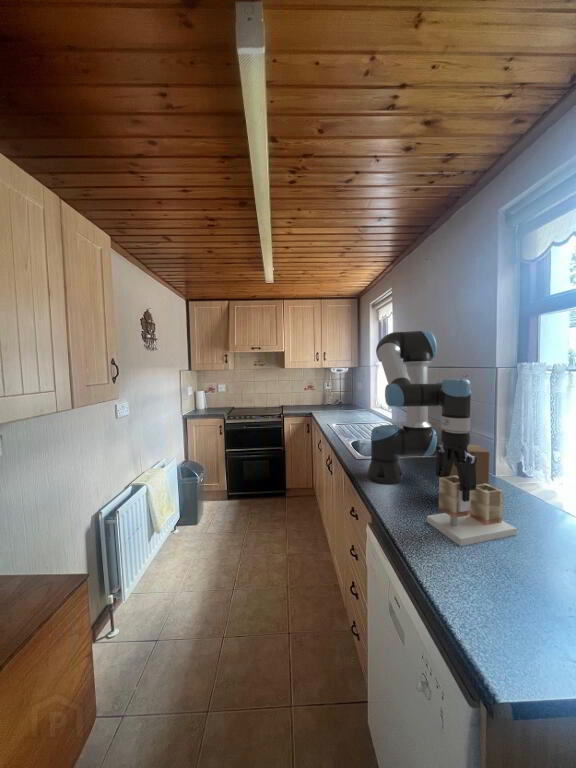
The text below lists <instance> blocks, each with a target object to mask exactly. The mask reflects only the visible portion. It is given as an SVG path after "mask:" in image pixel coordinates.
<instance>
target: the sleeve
mask: <svg viewBox="0 0 576 768" xmlns="http://www.w3.org/2000/svg"><path fill="white" fill-rule="evenodd" d="M438 483H439V484H438V510H440V511H441V512H442V513H446V514H448V515H449V516H451V517H453V518H457V517H462V516H468V515H470V508H471V491H470V496H469V497H470V500H469V501H468V511H463V512H459V511H458V498H459V489H461V486H460V481H459V477H458V476H456V475H455V476H447V477H439V476H438ZM465 486H466V485H465Z"/></svg>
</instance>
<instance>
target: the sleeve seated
mask: <svg viewBox="0 0 576 768" xmlns="http://www.w3.org/2000/svg"><path fill="white" fill-rule="evenodd" d="M485 490H488V491H485ZM503 494H504V490H502V489H499V488H497V487H496V486H493V485H491V484H489V485H488V484H479V485H476V490H471V508H470V516H471V517H473V518H474V519H476V520H478V521H480V522H481V523H483V524H485V525H490V524H495V523H501V522H502V521H503V497H504V495H503Z"/></svg>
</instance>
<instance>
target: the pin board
mask: <svg viewBox="0 0 576 768" xmlns="http://www.w3.org/2000/svg"><path fill="white" fill-rule="evenodd" d="M485 491H488V490H485ZM426 522H427V523H428V524H429V525H430V526H432V527H433V528H435V529H436V530H437V531H439V532H440V533H442V534H443V535H445V536H446V537H447V538H448V539H450V540H452V541H453V542H454V543H456V544H457V545H458V546H460V547H462V546H468V545H474V544H477V543H483V542H487V541H492V540H498V539H503V538H507V537H508V538H509V537H513V536H517V534H518V531H517V530H518V528H517V527H515V526H513V525H512V524H509V523H508V522H505V521H503V520H502V522H501V523H495V524H490V525H485V524H483V523H481V522H480V521H478V520H476V519H474V518H473V517H471V516H470V515H468V516H462V517H457V518H453V517H451V516H449V515H448V514H446V513H445V512H442V513H436V514H431V515H429V514H428V515H427V516H426Z"/></svg>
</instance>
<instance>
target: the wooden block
mask: <svg viewBox="0 0 576 768" xmlns="http://www.w3.org/2000/svg"><path fill="white" fill-rule="evenodd" d="M467 449H468V452H469V454H470V455H472V456H476V457H477V461H476V464H475V465H476V485H479V484H488V485H490V484H489V483H490V481H489V480H490V451H488V450H487V449H485V448H484V447H482V445H479V444H471V443H470V444H469V445H468V447H467ZM460 463H462V462H460ZM455 475H456V476H458V472H457V467H456V466H455V465H454V462H453V466H452V469H451V473H450V476H455Z"/></svg>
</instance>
